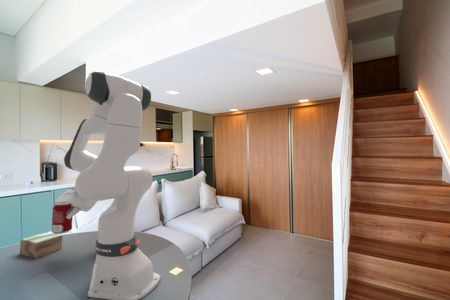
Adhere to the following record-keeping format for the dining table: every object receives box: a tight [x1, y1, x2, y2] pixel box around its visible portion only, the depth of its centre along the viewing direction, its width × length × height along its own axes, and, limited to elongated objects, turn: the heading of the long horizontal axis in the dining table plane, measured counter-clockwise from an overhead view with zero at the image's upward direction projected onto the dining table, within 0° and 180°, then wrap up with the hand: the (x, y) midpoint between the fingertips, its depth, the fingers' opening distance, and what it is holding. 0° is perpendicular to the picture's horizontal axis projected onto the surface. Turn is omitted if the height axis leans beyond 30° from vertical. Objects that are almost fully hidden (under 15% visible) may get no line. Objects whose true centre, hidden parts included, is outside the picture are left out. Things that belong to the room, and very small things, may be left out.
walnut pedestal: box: [19, 231, 63, 259], centre depth 92 cm, size 10×10×6 cm
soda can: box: [51, 202, 73, 235], centre depth 88 cm, size 7×7×12 cm
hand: (61, 216), depth 88 cm, fingers closed on soda can, 6 cm apart
